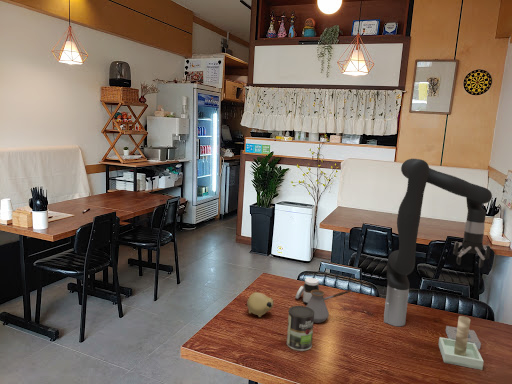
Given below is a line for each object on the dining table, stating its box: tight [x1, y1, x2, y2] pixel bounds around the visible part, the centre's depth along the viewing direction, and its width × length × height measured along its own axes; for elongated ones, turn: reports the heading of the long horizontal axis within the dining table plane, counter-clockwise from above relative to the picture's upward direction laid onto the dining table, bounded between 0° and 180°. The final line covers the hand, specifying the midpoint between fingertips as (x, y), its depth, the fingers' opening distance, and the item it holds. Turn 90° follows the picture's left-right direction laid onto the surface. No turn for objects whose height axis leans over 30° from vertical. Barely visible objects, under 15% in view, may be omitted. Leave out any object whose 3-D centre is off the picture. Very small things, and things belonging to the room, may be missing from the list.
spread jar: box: [294, 277, 320, 305], centre depth 192 cm, size 12×11×12 cm
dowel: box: [454, 315, 471, 356], centre depth 148 cm, size 4×4×15 cm
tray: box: [438, 336, 484, 371], centre depth 149 cm, size 13×13×4 cm
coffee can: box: [286, 305, 314, 352], centre depth 152 cm, size 10×10×14 cm
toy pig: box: [246, 292, 274, 318], centre depth 175 cm, size 10×12×11 cm
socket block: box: [445, 325, 482, 350], centre depth 162 cm, size 11×11×2 cm
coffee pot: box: [305, 289, 353, 324], centre depth 173 cm, size 21×12×15 cm, turn 87°
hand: (469, 265), depth 172 cm, fingers open, 8 cm apart
